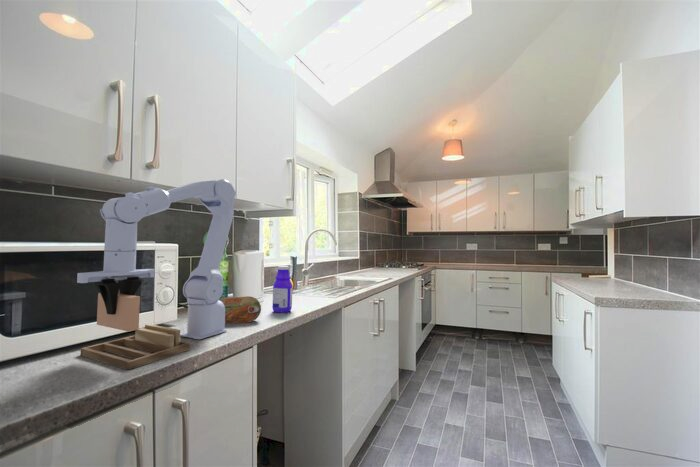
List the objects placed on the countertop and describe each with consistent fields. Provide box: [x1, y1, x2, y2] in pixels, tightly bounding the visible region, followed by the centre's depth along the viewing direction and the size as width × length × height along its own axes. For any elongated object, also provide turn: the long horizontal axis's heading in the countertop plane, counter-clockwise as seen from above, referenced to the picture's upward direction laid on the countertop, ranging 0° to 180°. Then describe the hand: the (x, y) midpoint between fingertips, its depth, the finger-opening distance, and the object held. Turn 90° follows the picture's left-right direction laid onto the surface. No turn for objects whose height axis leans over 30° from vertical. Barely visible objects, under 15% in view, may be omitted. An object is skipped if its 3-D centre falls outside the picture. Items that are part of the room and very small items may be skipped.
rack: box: [79, 334, 191, 371], centre depth 71 cm, size 14×18×2 cm
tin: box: [218, 295, 262, 325], centre depth 100 cm, size 15×3×8 cm, turn 106°
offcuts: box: [134, 323, 181, 348], centre depth 75 cm, size 3×14×4 cm, turn 65°
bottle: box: [272, 265, 293, 314], centre depth 117 cm, size 7×6×17 cm
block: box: [96, 292, 141, 332], centre depth 67 cm, size 2×12×7 cm, turn 65°
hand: (117, 312), depth 67 cm, fingers closed on block, 2 cm apart
